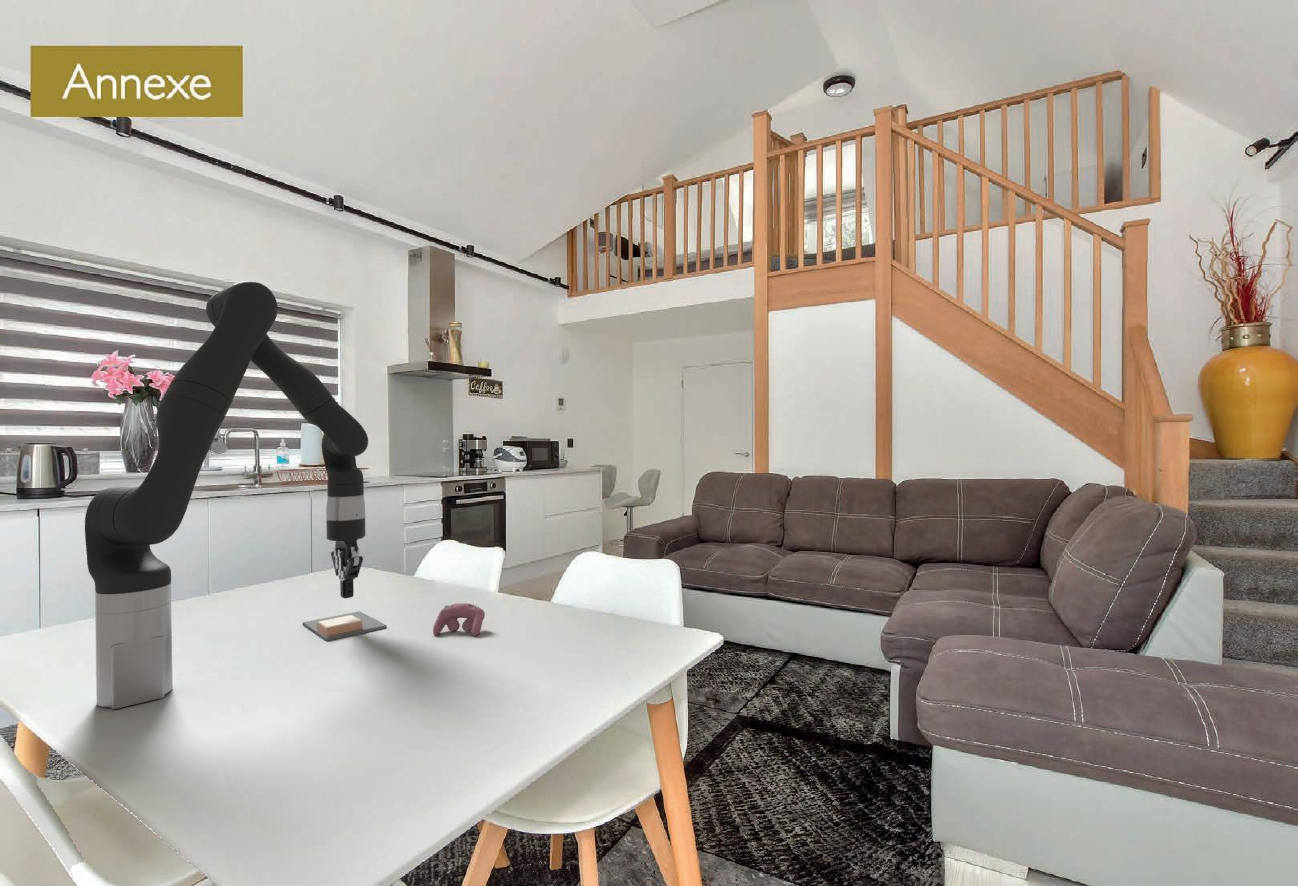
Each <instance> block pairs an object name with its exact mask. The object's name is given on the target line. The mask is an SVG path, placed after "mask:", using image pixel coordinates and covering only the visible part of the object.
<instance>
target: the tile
mask: <svg viewBox="0 0 1298 886" xmlns="http://www.w3.org/2000/svg"><path fill="white" fill-rule="evenodd" d="M359 629H362V621H361V620H360V619H358V618H356V617H354V616H352V615H349V616H344V617H339V618H334V619H329V620H324V621H319V622H318V623H317V631H319V632H320V633H322V634H323V635H325V636H331V635H336V634H341V633H345V632H350V631H354V630H359Z"/></svg>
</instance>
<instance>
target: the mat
mask: <svg viewBox="0 0 1298 886" xmlns="http://www.w3.org/2000/svg"><path fill="white" fill-rule="evenodd" d="M349 615H352V616H354V617H356V618H358V619H360V620H361V621H362V629H359V630H354V631H350V632H345V633H341V634H336V635H331V636H325V635H323V634H322V633H320V632H319V631H317V623H318V622H319V621H324V620H329V619H334V618H339V617H344V616H349ZM302 626H303V627H305V628H306V629H308V630H309V631H311V632H312V633H313V634H315V635H316V636H318V637H320V638H321V639H322V640H324V641H325V642H328V641H332V640H338V639H341V638H348V637H352V636H356V635H361V634H364V633H369V632H374V631H378V630H379V631H380V630H384V629H387V624H385V623H383V622H381V621H379V620H377V619H376V618H373V617H372V616H369V614H365V613H363V612H362V611H354V612H348V613H344V614H338V615H334V616H329V617H323V618H319V619H318V618H317V619H313V620H308V621H302Z"/></svg>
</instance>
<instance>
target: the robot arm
mask: <svg viewBox="0 0 1298 886" xmlns="http://www.w3.org/2000/svg"><path fill="white" fill-rule="evenodd" d="M205 305H206V306H205V312H206V316H207V317H208V319H209V322H210V323H211V325H213V327H214V328H213V331H211V333H210V334H209V336H208V337H207V339H206V340H204V342H203V343H202V345H200V347H198V349H197V350H196V351H195V352H194V353H193V354H192V355H191V356H190V357H189V358H188V359H187V360H186V362H184V364H183V365H182V366H181V367H180V368H179V370H178V371H177V372H176V373H175V375H174V377H173V378H172V379H171V381H170V383H169V385H168V387H167V389H166V391H165V392H164V394H163V396H162V398H161V400H160V401H159V404H158V407H157V410H156V411H157V412H156V429H157V436H158V439H157V440H158V449H157V453H156V456H155V458H154V462H153V464H152V465H151V467H150V469H149V471H148V473H147V475H146V477H144V479H143V481H142V483H141V484H140V485H137V486H136V485H135V486H134V485H124V486H121V485H120V486H111V487H108V488H105V489H103V490H101V491H99V492H98V493H97V494H95V495H94V496H93V498H91V500H90V502H89V503H88V506H87V508H86V511H85V516H84V517H85V518H84V538H85V548H86V549H85V551H86V563H87V564H86V565H87V569H88V573H89V575H90V577H91V578H92V580H93V582H94V590H95V591H94V592H95V593H94V597H95V598H94V601H95V602H94V603H95V610H94V611H95V612H94V613H95V614H94V615H95V617H94V619H95V620H94V621H95V622H94V623H95V680H96V682H95V684H96V705H97V706H98V707H102V708H111V710H116V709H121V708H126V707H129V706H133V705H137V704H142V703H145V702H149V701H150V702H151V701H154V700H159V699H162V698H164V697H165V695H166V694H168V693H169V692H170V691H172V690H173V640H172V639H173V636H172V635H173V634H172V633H173V632H172V630H173V628H172V627H173V626H172V625H173V624H172V621H173V620H172V570H171V567H170V566H169V565H168V564H167V563H165V562H163V561H162V560H160V559H159V558H157V557H156V556H155V554H154V553H153V551H152V549H151V545H152V546H153V545H156V544H157V545H158V544H160V543H163V542H165V541H167V540H168V539H170V538H171V537H172V536H174V534H175V533H176V532H177V530H178V529H179V527H180V526H181V524H182V522H183V520H184V517H185V514H186V512H187V509H188V507H189V506H188V505H189V503H190V501H191V497H192V494H193V491H194V488H195V486H196V482H197V480H198V476H199V474H200V471H201V469H202V467H203V465H204V461H205V460H206V459H207V455H208V453H209V450H211V449H210V448H211V446H212V444H213V441H214V439H215V438H216V435H217V432H218V431H219V429H220V427H221V426H222V423H223V422H224V420H225V418H226V416H227V414H228V412H229V410H230V408H231V406H232V403H233V400H234V398H235V396H236V393H237V391H238V389H239V387H240V384H241V383H242V381H243V379H244V376H245V374H246V371H247V369H248V368H249V366H250V365H249V364H250V362H251V363H253V364H254V365H255V366H256V367H257V368H258V369H259V370H261V371H262V372H263V374H265V375H266V376H267V377H268V379H270V381H272V382H273V383H274V385H276V387H278V389H279V390H280V391H281V392H282V393H283V395H284V396H285V397H286V398H287V399H288V401H289V402H290V403H291V405H293V406H294V408H295V409H296V410H297V412H298V413H299V414H300V415H301V416H302V417H303V418H304V419H305V421H306V422H308V424H311V425H313V426H315V427H317V428H319V430H320V431H322V433H323V435H322V438H321V439H322V440H321V452H322V454H321V455H322V459H323V463H324V468H325V470H326V474H327V482H326V484H327V492H326V493H327V501H326V507H325V508H326V509H325V512H326V514H325V515H326V521H325V523H326V525H325V526H326V540H327V541H330V542H335V543H334V544H335V546H334V548H333V551H331V552H330V556H331V561H332V564H333V568H334V573H335V576H336V577H337V578H338V580H339V583H340V586H339V587H340V588H339V589H340V591H339V593H340V594H339V596H340V598H342V599H351V598H353V597H354V595H355V594H354V580H355V579H356V578H357V579H358V577H359V574H360V571H361V567H362V564H363V561H364V557H363V556H362V555H360V548H359V546H358V540H361V539H364V538H365V537H366V503H365V502H366V501H365V496H364V495H365V490H364V489H365V486H364V485H365V484H364V473H363V471H362V470H361V469H359V468H358V465H357V460H356V457H358V456H360V455H362V454H363V453H364V452H365V451H367V448H368V446H369V437H368V433H367V432H366V430H365V428H364V427H363V425H361V423H360V422H359V421H358V420H357V419H356V418H355V417H354V416H352V414H350V412H349V411H347V410H346V409H345V408H343V406H342V405H340V404H339V403H338V402H337V401H336V399H335V398H334V396H333V395H332V394H331V392H330V391H329V389H327V388H326V385H324V383H323V382H322V380H320V378H318V376H317V375H315V374H314V373H313V372H312V371H311V370H310V369H309V368H307V367H306V366H304V365H303V364H301V363H300V362H299V361H297V360H295V359H294V358H292V356H290V355H288V354H287V353H286V352H285V351H283V350H282V349H281V348H280V347H279V346H278V345H277V344H276V343H275V342H274V341H273V340H272V338H271V337H270V336H269V335H268V332H269V330H270V329H271V327H272V326H273V325H274V323H275V321H276V319H277V316H278V311H279V309H278V308H279V307H278V302H277V299H276V297H275V294H274V292H272V291H271V289H270V288H269V287H267V286H266V285H265V284H262V283H261V282H257V281H254V280H253V281H252V280H245V281H239V282H234V283H233V284H231V285H228V286H227V287H225V288H224V289H221V290H219V291H218V292H216V293H214V294H213V295H211V296H210V298H209V299H208V300H207V303H206V304H205Z"/></svg>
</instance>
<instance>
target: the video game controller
mask: <svg viewBox="0 0 1298 886" xmlns="http://www.w3.org/2000/svg"><path fill="white" fill-rule="evenodd" d="M485 616H486V613H485V610H484V609H482V608H481V607H480V606H477V605H475V604H471V603H465V602H464V603H463V602H462V603H461V602H460V603H453V604H449V605H448V604H447V605H445V606H444V608H442V609H441V610H440V611H439V613H438V616H437V617H436V620H435V622H434V625H433V628H432V629H433V630H432V635H434V636H435V637H436V636H438V635H440V634H441V632H442V631H443V629H444V628H445V626H446V627H447V629H448V631H450V632H453V633H454V632H457V631H459V629H460V628H462V630H463V631H464V632H467V633H468V632H469V633H470V632H471V633H472V636H473V637H476V636H478V635H479V633H480V631H481V629H482V625H483V622H484V619H485ZM458 619H465V620H464V621H463V622H462V624H461V625H460V621H459V620H458ZM460 626H461V627H460Z"/></svg>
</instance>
